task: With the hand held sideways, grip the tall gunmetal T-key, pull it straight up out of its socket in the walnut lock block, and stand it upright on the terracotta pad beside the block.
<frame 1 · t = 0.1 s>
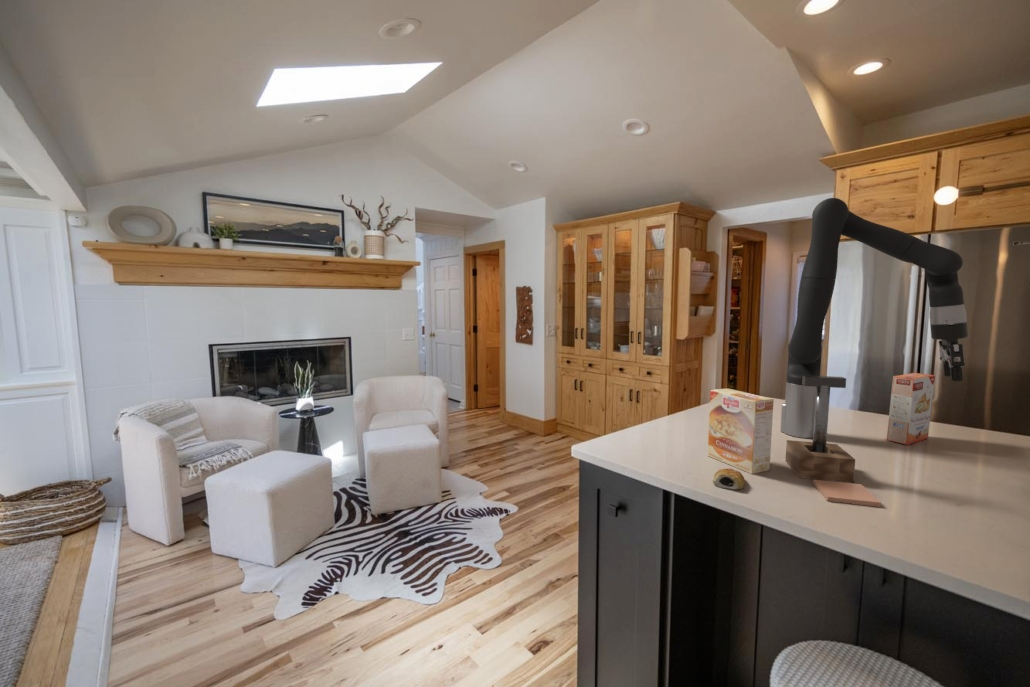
hand: (953, 378, 129), 22 cm above the counter, tool pointing down, fingers open, 8 cm apart
coffeecake box: (737, 463, 126), on the counter
pastry: (728, 485, 113), on the counter
lock block: (817, 471, 120), on the counter
cracker box: (907, 440, 145), on the counter
pad: (844, 494, 106), on the counter
key: (817, 463, 120), point 2 cm above the counter, touching lock block
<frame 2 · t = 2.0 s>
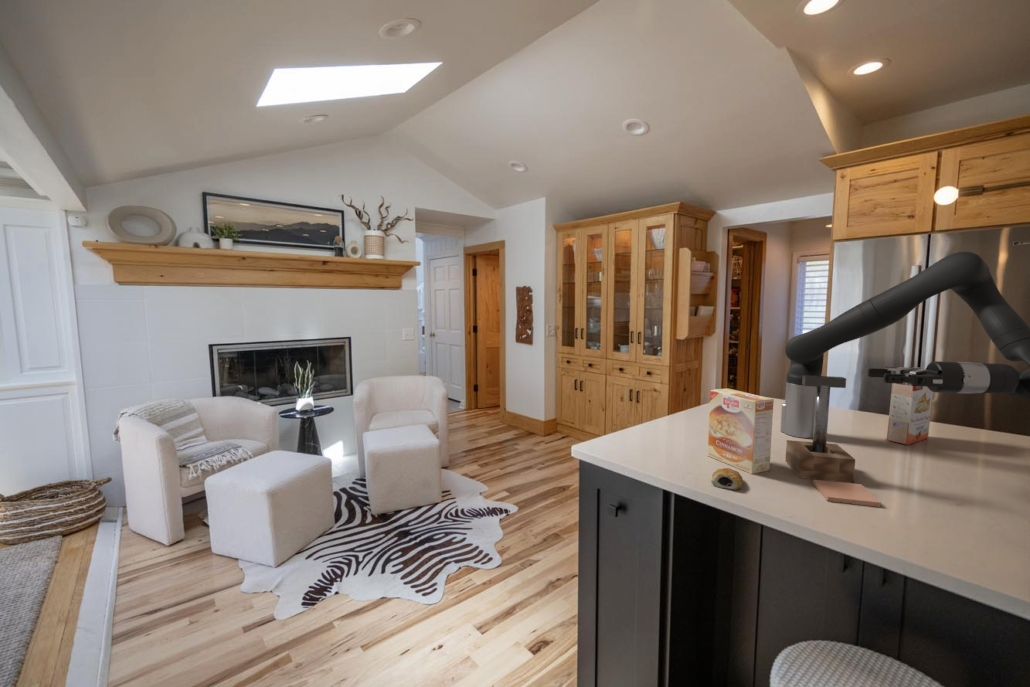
hand: (876, 375, 114), 26 cm above the counter, tool horizontal, fingers open, 8 cm apart
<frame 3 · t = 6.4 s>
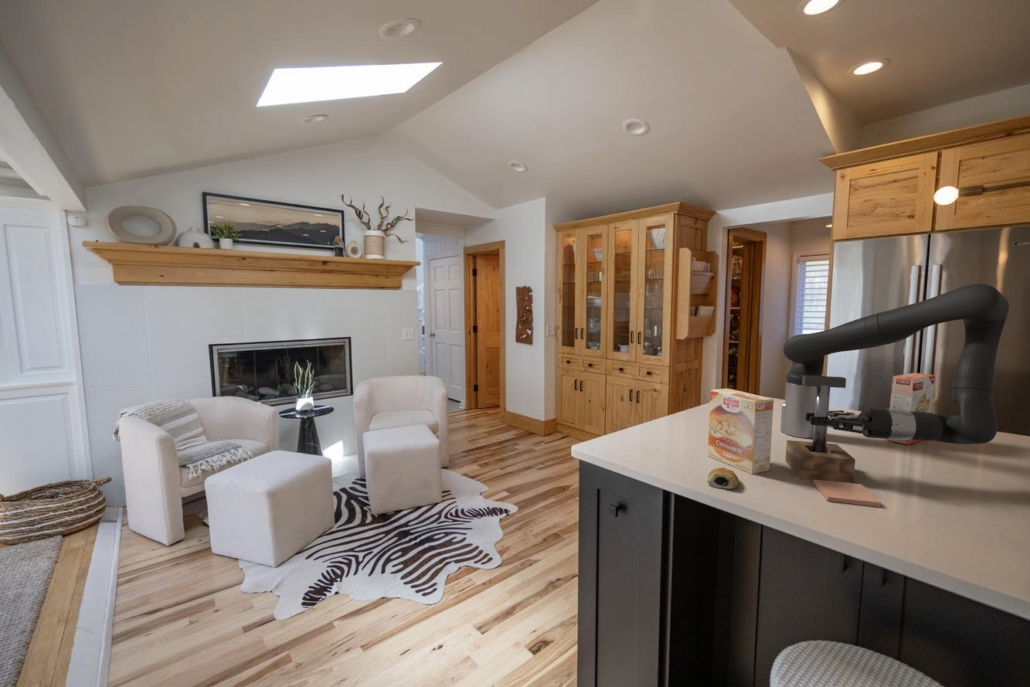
hand: (808, 418, 119), 14 cm above the counter, tool horizontal, fingers closed on key, 3 cm apart
key: (817, 463, 120), point 2 cm above the counter, touching gripper, lock block
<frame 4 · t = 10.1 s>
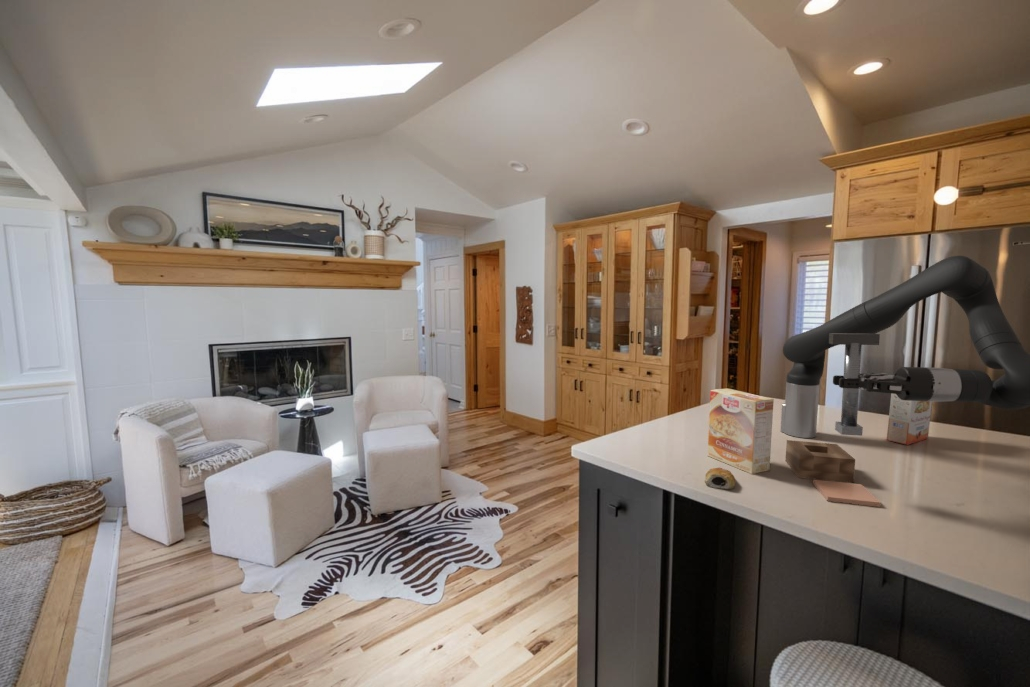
hand: (836, 381, 106), 26 cm above the counter, tool horizontal, fingers closed on key, 3 cm apart
key: (848, 432, 106), point 14 cm above the counter, touching gripper
when the fingers open (14 cm above the counter, at t = 13.4 s): key drops 1 cm, resting on pad.
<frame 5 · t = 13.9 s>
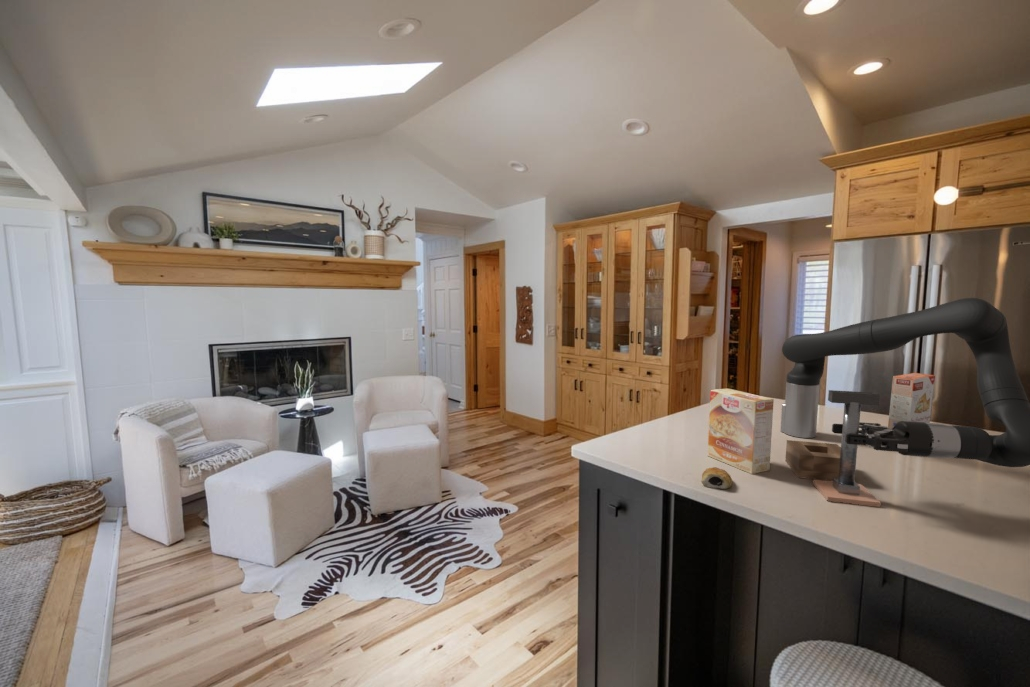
hand: (839, 433, 105), 15 cm above the counter, tool horizontal, fingers open, 7 cm apart
key: (845, 490, 106), point 1 cm above the counter, touching pad
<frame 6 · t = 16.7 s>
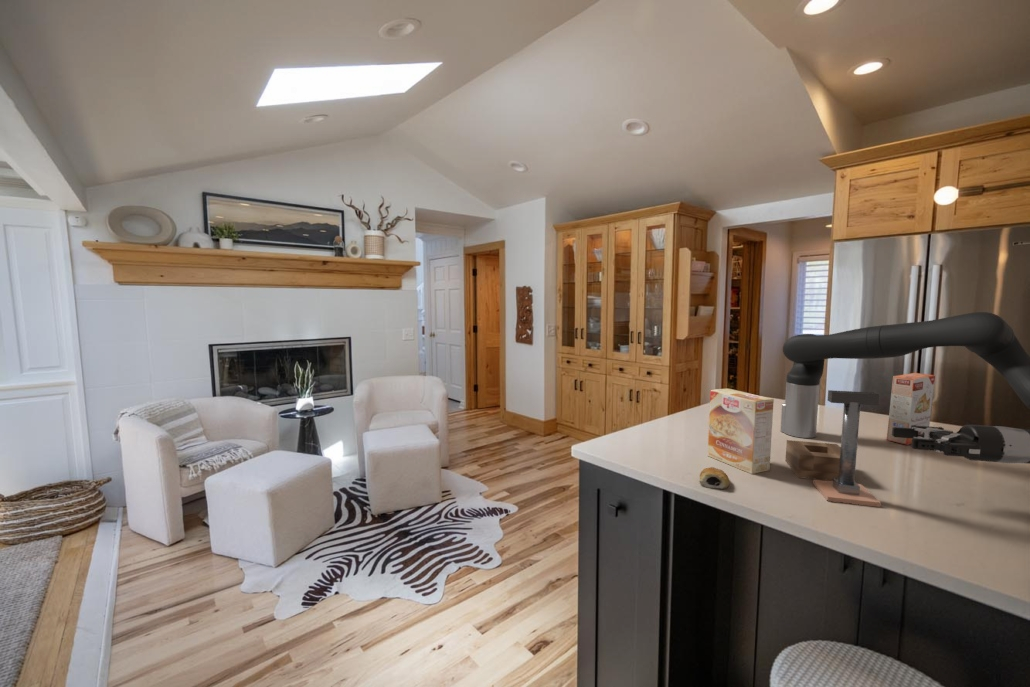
hand: (902, 437, 101), 15 cm above the counter, tool horizontal, fingers open, 8 cm apart
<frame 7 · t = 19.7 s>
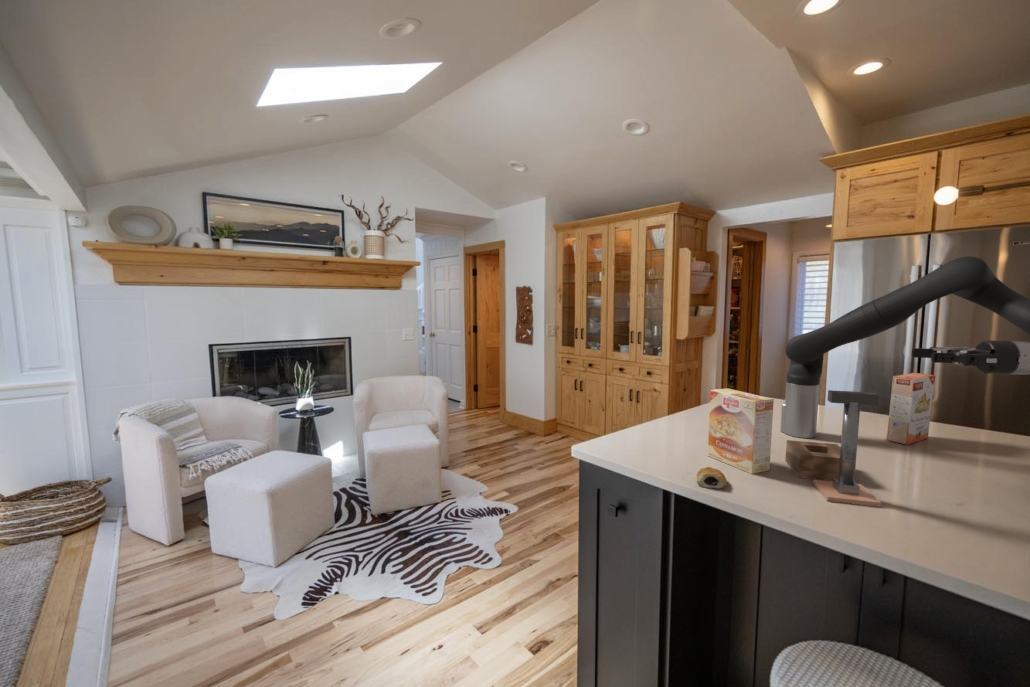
hand: (922, 355, 108), 32 cm above the counter, tool horizontal, fingers open, 8 cm apart
at the end: key 0.1 cm from the pad (horizontally); key tilted 0°; key touching pad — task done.
